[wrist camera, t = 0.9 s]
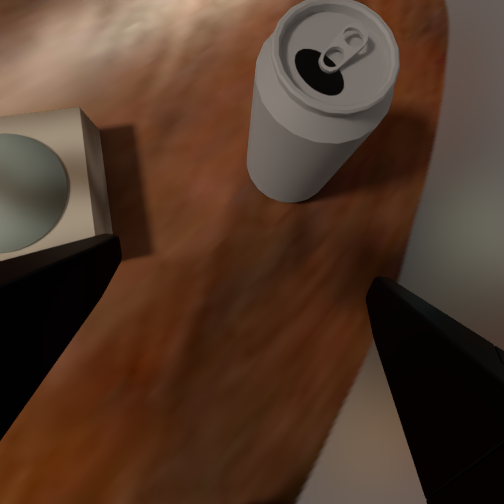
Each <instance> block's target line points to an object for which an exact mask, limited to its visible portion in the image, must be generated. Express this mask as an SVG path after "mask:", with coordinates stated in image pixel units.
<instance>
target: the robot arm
mask: <svg viewBox="0 0 504 504" xmlns="http://www.w3.org/2000/svg"><path fill="white" fill-rule="evenodd" d="M121 258H122V255H121V247H120V240H119V237H118V236H117V235H114V234H107V233H104V234H100V235H96V236H93V237H89V238H85V239H81V240H78V241H74V242H70V243H66V244H63V245H59V246H55V247H51V248H47V249H44V250H40V251H36V252H32V253H29V254H25V255H21V256H17V257H13V258H10V259H6V260H2V261H0V441H1V439H2V438H3V436H4V435H5V434H6V432H7V431H8V429H9V428H10V427H11V425H12V424H13V422H14V421H15V419H16V418H17V417H18V415H19V414H20V412H21V411H22V409H23V408H24V407H25V405H26V404H27V402H28V401H29V400H30V398H31V397H32V395H33V394H34V392H35V391H36V390H37V388H38V387H39V385H40V384H41V383H42V381H43V380H44V378H45V377H46V375H47V374H48V373H49V371H50V370H51V368H52V367H53V365H54V364H55V363H56V361H57V360H58V358H59V357H60V356H61V354H62V353H63V351H64V350H65V348H66V347H67V346H68V344H69V343H70V341H71V340H72V339H73V337H74V336H75V334H76V333H77V331H78V330H79V329H80V327H81V326H82V324H83V323H84V321H85V320H86V319H87V317H88V316H89V314H90V313H91V312H92V310H93V309H94V307H95V306H96V304H97V303H98V302H99V300H100V299H101V297H102V295H103V294H104V292H105V290H106V288H107V286H108V285H109V283H110V281H111V279H112V277H113V275H114V273H115V272H116V270H117V268H118V266H119V264H120V262H121ZM366 304H367V309H368V314H369V318H370V323H371V328H372V333H373V337H374V341H375V344H376V347H377V350H378V353H379V356H380V360H381V363H382V366H383V369H384V372H385V375H386V378H387V381H388V384H389V387H390V390H391V394H392V396H393V400H394V402H395V406H396V409H397V412H398V415H399V418H400V421H401V424H402V427H403V431H404V433H405V437H406V440H407V443H408V446H409V449H410V452H411V455H412V458H413V461H414V464H415V467H416V470H417V474H418V477H419V480H420V483H421V486H422V489H423V492H424V495H425V498H426V499H427V501H426V502H427V504H504V351H503V350H502V349H500V348H498V347H497V346H494V345H493V344H492V343H490V342H489V341H487V340H486V339H484V338H483V337H481V336H480V335H478V334H476V333H475V332H473V331H471V330H470V329H469V328H467V327H465V326H464V325H462V324H461V323H459V322H457V321H456V320H454V319H453V318H451V317H450V316H448V315H446V314H445V313H443V312H442V311H440V310H439V309H437V308H435V307H434V306H432V305H431V304H429V303H427V302H426V301H424V300H423V299H421V298H420V297H418V296H417V295H415V294H413V293H412V292H410V291H409V290H407V289H406V288H404V287H402V286H401V285H399V284H398V283H396V282H395V281H393V280H391V279H390V278H387V277H381V276H377V277H375V278H374V280H373V282H372V284H371V286H370V288H369V290H368V292H367V295H366Z"/></svg>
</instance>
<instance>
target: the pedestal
mask: <svg viewBox="0 0 504 504" xmlns="http://www.w3.org/2000/svg"><path fill="white" fill-rule="evenodd" d="M104 233H107V234H113V231H112V223H111V216H110V208H109V200H108V193H107V185H106V177H105V169H104V162H103V154H102V146H101V139H100V131H99V129H98V128H97V127H96V126H95V125H94V123H93V122H92V121H91V120H90V119H89V118H88V117H87V115H86V114H85V113H84V112H83V111H82V110H81V108H80V107H76V108H68V109H60V110H52V111H44V112H36V113H27V114H19V115H11V116H3V117H0V261H2V260H6V259H10V258H13V257H17V256H21V255H25V254H29V253H32V252H36V251H40V250H44V249H47V248H51V247H55V246H59V245H63V244H66V243H70V242H74V241H78V240H81V239H85V238H89V237H93V236H96V235H100V234H104Z"/></svg>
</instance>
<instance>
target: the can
mask: <svg viewBox="0 0 504 504" xmlns="http://www.w3.org/2000/svg"><path fill="white" fill-rule="evenodd" d="M399 69H400V62H399V49H398V46H397V44H396V41H395V39H394V36H393V33H392V31H391V30H390V29H389V27H388V26H387V25H386V23H385V22H384V21H383V20H382V18H381V17H380V16H379V15H378V14H376V13H375V12H373V11H372V10H371V9H369V8H368V7H367V6H365V5H364V4H361V3H359V2H356V1H353V0H305V1H303V2H301V3H300V4H298V5H296V6H294V7H292V8H291V9H290V10H289V11H288V12H287V13H286V14H285V15H284V16H283V17H282V18H281V19H280V21H279V22H278V24H277V27H276V29H275V31H274V33H273V34H272V35H271V36H270V37H269V38H268V39H267V40H266V41H265V42H264V44H263V46H262V49H261V51H260V54H259V56H258V59H257V61H256V70H255V80H254V91H253V101H252V111H251V121H250V131H249V141H248V151H247V168H248V171H249V175H250V178H251V180H252V181H253V182H254V184H255V185H256V187H257V188H258V189H259V190H260V191H261V192H263V193H264V194H265V195H266V196H268V197H269V198H272V199H275V200H277V201H280V202H290V203H296V202H300V201H303V200H307V199H309V198H310V197H312V196H313V195H315V194H316V193H318V192H319V191H320V190H321V189H322V187H323V186H324V185H325V184H326V183H327V182H328V181H329V180H330V179H331V177H332V176H333V175H334V174H335V173H336V172H337V171H338V170H339V168H340V167H341V166H342V165H343V164H344V163H345V162H346V161H347V160H348V158H349V157H350V156H351V155H352V154H353V153H354V152H355V151H356V149H357V148H358V147H359V146H360V145H361V144H362V143H363V142H364V140H365V139H366V138H367V137H368V136H369V135H370V134H371V133H372V132H373V130H374V129H375V128H376V127H377V126H378V124H379V123H380V122H381V120H382V119H383V118H384V117H385V115H386V114H387V113H388V111H389V108H390V104H391V101H392V98H393V94H394V85H395V82H396V79H397V75H398V72H399Z"/></svg>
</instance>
